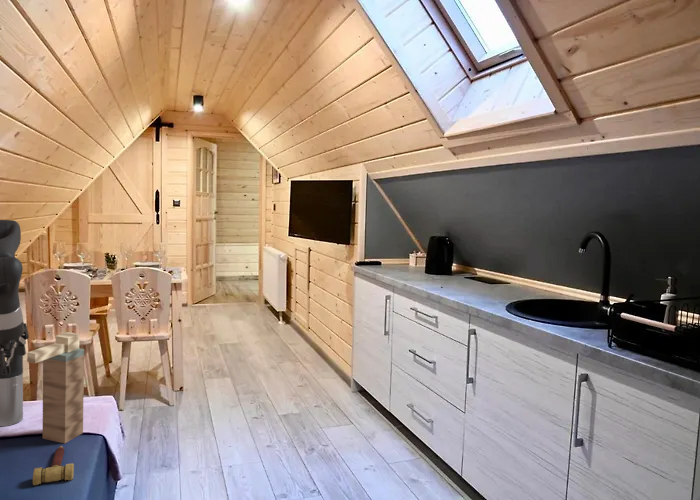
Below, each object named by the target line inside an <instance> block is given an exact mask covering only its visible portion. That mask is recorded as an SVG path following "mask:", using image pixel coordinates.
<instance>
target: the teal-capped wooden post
mask: <svg viewBox="0 0 700 500" xmlns="http://www.w3.org/2000/svg"><path fill="white" fill-rule="evenodd" d="M84 375H85V349H84V348H80V347H79V349H76V350H74V351H71V352H68V353H67V352H65V353H62V354H59V355H56V356H54V357H51V358H48V359H46V360H43V361H42V440H43V439H44V440H48V441H52V442H55V443H61V444H66V443H68V442H70V441H72V440H73V439H75V438H77V437H79V436H80V435H82V434H83V433H84V395H85V394H84V391H85V390H84V389H85V387H84V386H85V384H84V383H85V376H84Z"/></svg>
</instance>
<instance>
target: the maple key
mask: <svg viewBox="0 0 700 500" xmlns="http://www.w3.org/2000/svg"><path fill="white" fill-rule="evenodd" d="M79 348H80V333H75V332H70V331H69V332H68V331H66V332H64V333H59V334H57V335H55V342H54V343H52V344H48V345H46V346H41V347H40V348H36V349H33V350H31V351H26V355H27V357H26V362H27V363H31V364H38V363H40V362H43V360H46V359H48V358H51V357H54V356H56V355H59V354H62V353H65V352H67V353H68V352H71V351H74V350H76V349H79Z"/></svg>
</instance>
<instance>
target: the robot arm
mask: <svg viewBox="0 0 700 500" xmlns="http://www.w3.org/2000/svg"><path fill="white" fill-rule="evenodd" d="M21 237H22V232H21V226H20V224H19V223H18V221H16V220H12V219H11V220H10V219H0V427H7V426H12V425H15V424H17V423H18V424H19V422H21V421H22V420H23V418H24V361H23V360H24V356H25V355H27V351H26V344H27V341H26V340H28V339H29V338H30V337H29V335H30V334H29V330H28V326H27V323H24V317H23V316H24V315H23V311H22V307H21V303H20V295H19V287H20V282H21V280H22V275H23V263H22V262H21V260H20V259H19V258H17V257H16V252H17V251H18V249H19V247H20V244H21V240H22V238H21Z"/></svg>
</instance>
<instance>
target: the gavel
mask: <svg viewBox="0 0 700 500" xmlns="http://www.w3.org/2000/svg"><path fill="white" fill-rule="evenodd" d="M64 455H65V448H64V447H63V445H60V446H59V447H58V448H56V449H55V452H54V456H53V459H52V463H51V465H50V467H46V468H43V467H35V468H34V469H33V473H32V485H33V486H38V485H39V484H40V485H42V483H51V482H52V483H53V482H59V480H61V481H64V480H65V482H67V481H66V480H68V481H73V479H74V472H75V470H74V469H75V464H74V463H73V462H71V463H66V464H65V465H64V466H63V465H62V463H63V459H64ZM63 479H64V480H63Z"/></svg>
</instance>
